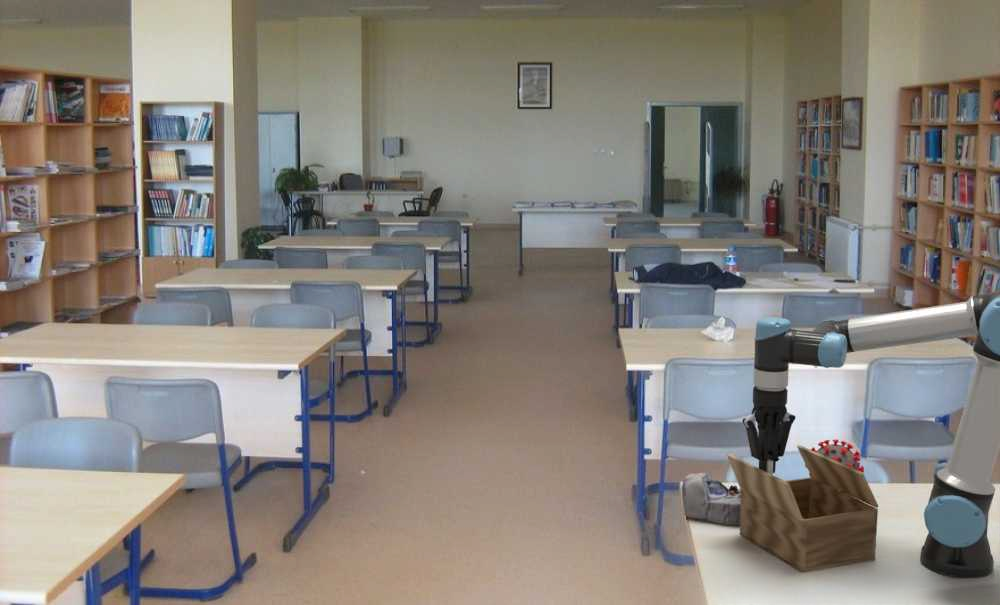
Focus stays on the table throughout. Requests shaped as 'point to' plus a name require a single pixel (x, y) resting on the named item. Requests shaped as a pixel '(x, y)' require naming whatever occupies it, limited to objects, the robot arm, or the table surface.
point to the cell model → (711, 500)
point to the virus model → (840, 454)
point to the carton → (812, 527)
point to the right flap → (838, 476)
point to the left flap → (765, 486)
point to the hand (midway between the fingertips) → (766, 487)
